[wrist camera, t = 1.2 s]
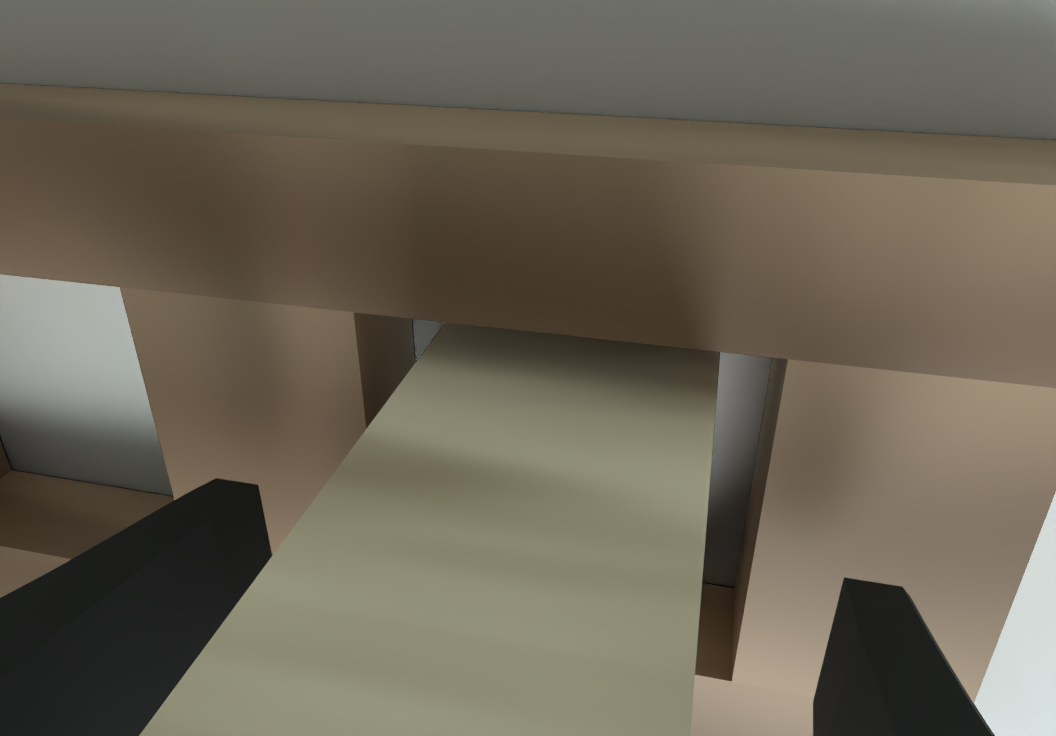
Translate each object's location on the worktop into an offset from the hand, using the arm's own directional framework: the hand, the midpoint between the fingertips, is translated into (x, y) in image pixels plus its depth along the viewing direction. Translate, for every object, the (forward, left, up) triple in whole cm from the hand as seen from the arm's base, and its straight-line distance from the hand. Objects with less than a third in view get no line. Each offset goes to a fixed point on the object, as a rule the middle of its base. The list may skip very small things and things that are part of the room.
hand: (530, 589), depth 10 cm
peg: (0, 0, -4) cm, 4 cm away
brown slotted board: (0, +9, -4) cm, 10 cm away
